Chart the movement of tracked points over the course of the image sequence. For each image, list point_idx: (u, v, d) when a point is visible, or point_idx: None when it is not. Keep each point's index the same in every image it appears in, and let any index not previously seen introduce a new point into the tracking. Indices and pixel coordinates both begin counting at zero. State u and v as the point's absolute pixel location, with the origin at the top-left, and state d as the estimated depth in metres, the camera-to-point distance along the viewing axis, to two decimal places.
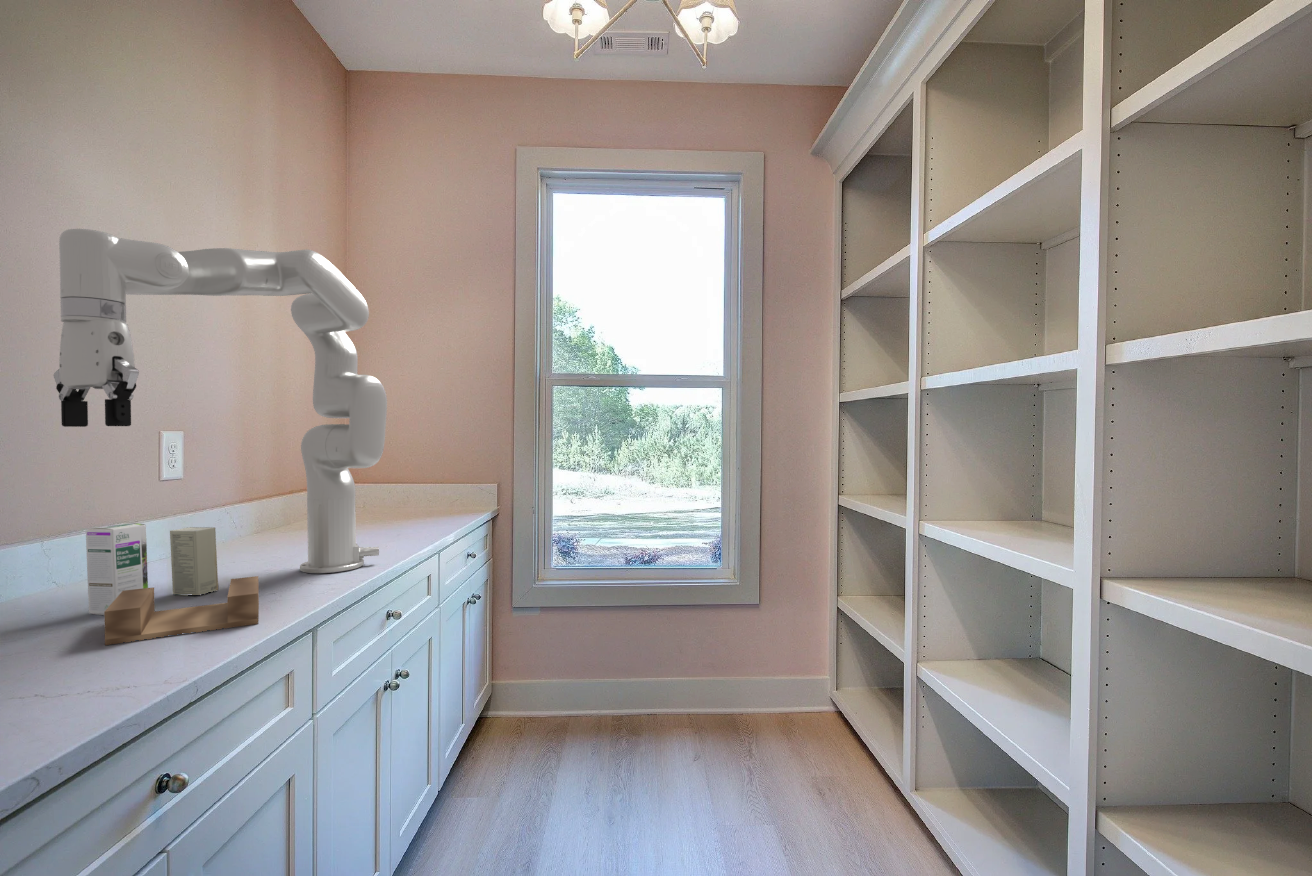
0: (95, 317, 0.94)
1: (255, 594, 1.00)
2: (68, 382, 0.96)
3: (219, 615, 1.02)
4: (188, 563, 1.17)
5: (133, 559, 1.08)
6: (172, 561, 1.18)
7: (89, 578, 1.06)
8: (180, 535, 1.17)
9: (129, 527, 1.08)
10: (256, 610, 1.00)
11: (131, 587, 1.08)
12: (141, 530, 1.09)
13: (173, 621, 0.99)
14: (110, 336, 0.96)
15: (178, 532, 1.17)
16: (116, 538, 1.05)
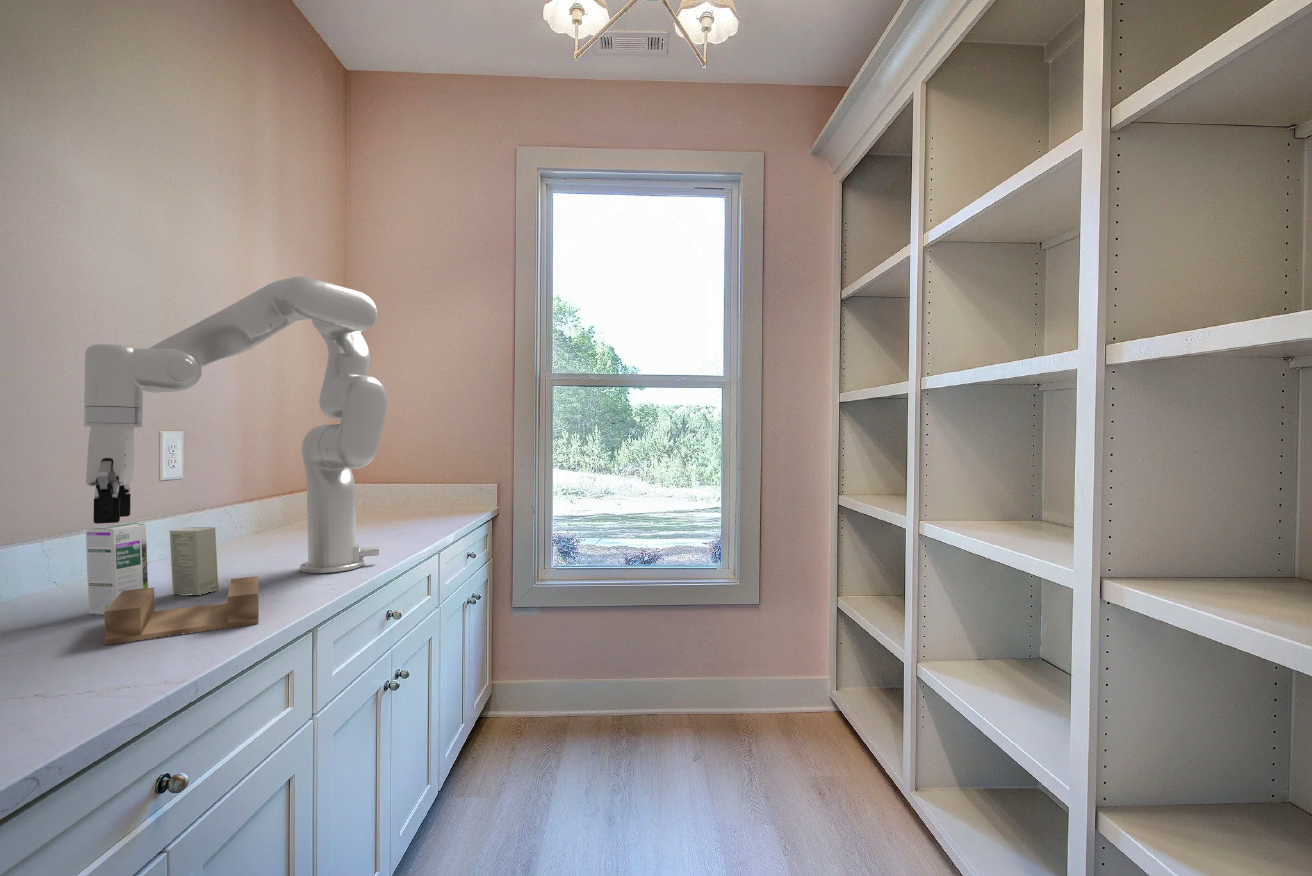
0: None
1: (255, 594, 1.00)
2: (126, 480, 1.06)
3: (219, 615, 1.02)
4: (188, 563, 1.17)
5: (133, 559, 1.08)
6: (172, 561, 1.18)
7: (89, 578, 1.06)
8: (180, 535, 1.17)
9: (129, 527, 1.08)
10: (256, 610, 1.00)
11: (131, 587, 1.08)
12: (141, 530, 1.09)
13: (173, 621, 0.99)
14: None
15: (178, 532, 1.17)
16: (116, 538, 1.05)
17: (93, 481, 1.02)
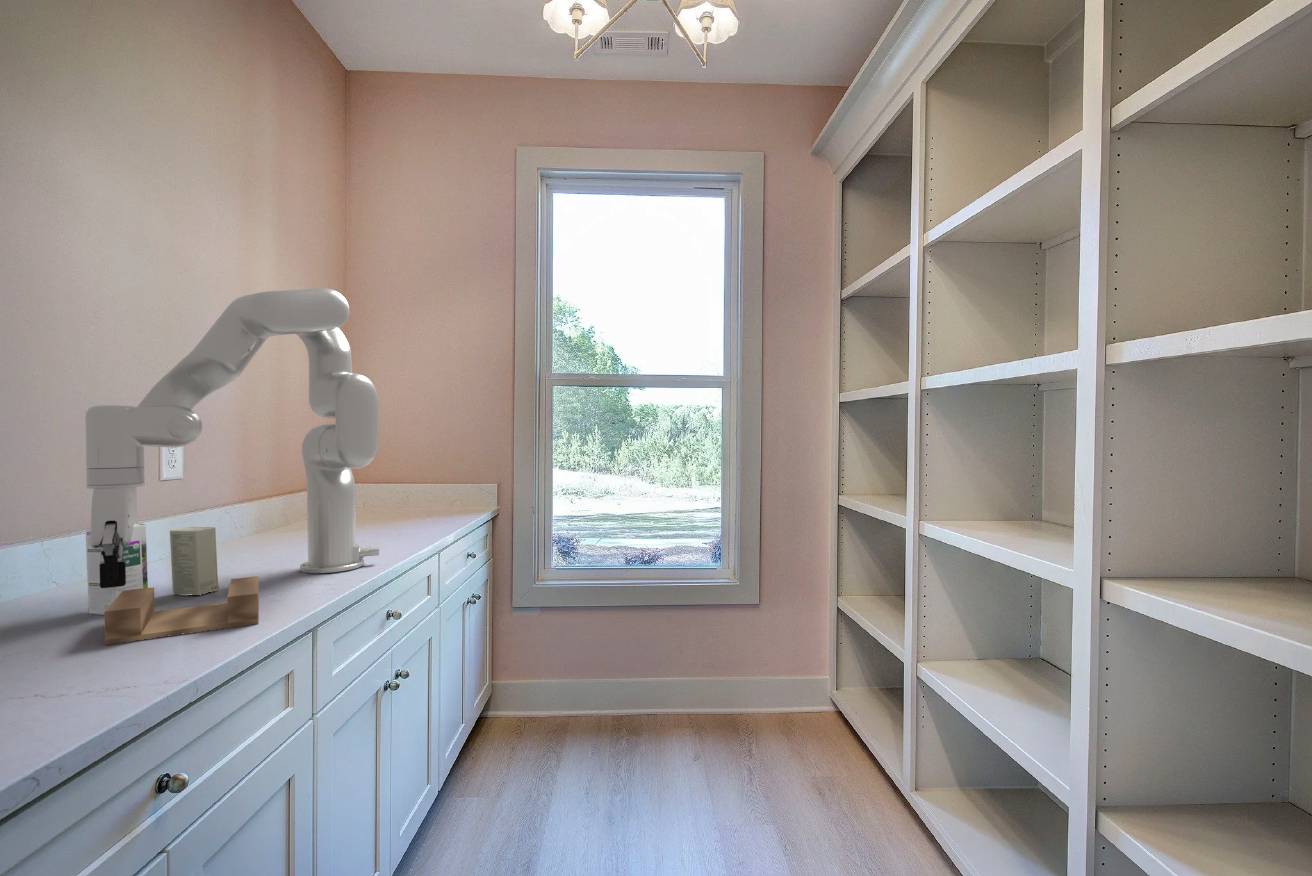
0: None
1: (255, 594, 1.00)
2: (130, 540, 1.07)
3: (219, 615, 1.02)
4: (188, 563, 1.17)
5: (133, 559, 1.08)
6: (172, 561, 1.18)
7: (89, 578, 1.06)
8: (180, 535, 1.17)
9: None
10: (256, 610, 1.00)
11: (131, 587, 1.08)
12: (141, 530, 1.09)
13: (173, 621, 0.99)
14: None
15: (178, 532, 1.17)
16: (116, 538, 1.05)
17: (97, 544, 1.03)
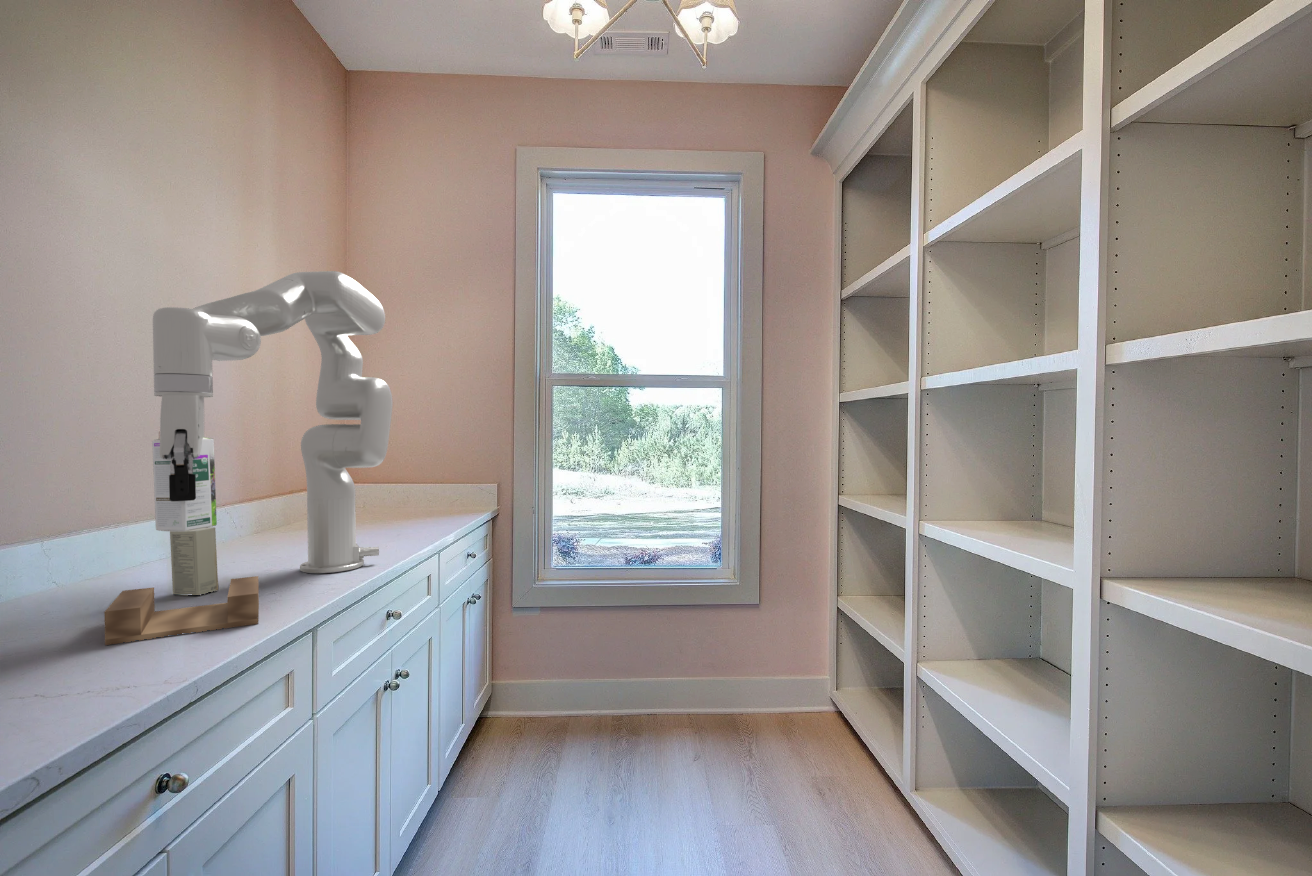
0: None
1: (255, 594, 1.00)
2: (199, 453, 1.00)
3: (219, 615, 1.02)
4: (188, 563, 1.17)
5: (201, 473, 1.01)
6: (172, 561, 1.18)
7: (156, 492, 0.99)
8: (180, 535, 1.17)
9: None
10: (256, 610, 1.00)
11: (200, 503, 1.01)
12: (209, 444, 1.02)
13: (173, 621, 0.99)
14: None
15: (178, 532, 1.17)
16: (185, 449, 0.98)
17: (167, 453, 0.96)
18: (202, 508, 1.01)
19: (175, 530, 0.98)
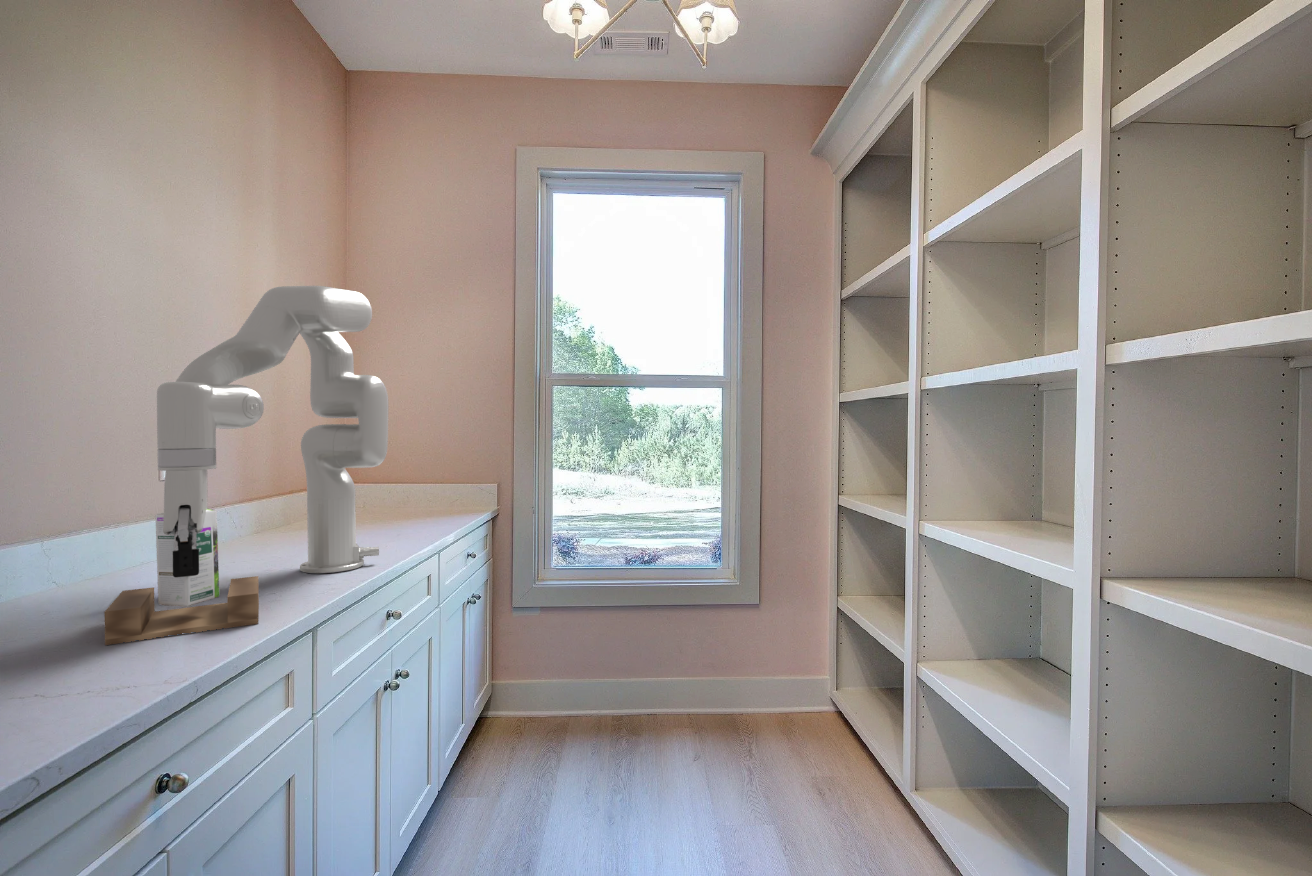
0: None
1: (255, 594, 1.00)
2: (202, 527, 1.00)
3: (219, 615, 1.02)
4: None
5: (204, 546, 1.01)
6: None
7: (159, 567, 0.99)
8: None
9: None
10: (256, 610, 1.00)
11: (203, 577, 1.00)
12: (212, 516, 1.02)
13: (173, 621, 0.99)
14: None
15: None
16: (189, 523, 0.98)
17: (171, 530, 0.96)
18: (205, 581, 1.01)
19: (178, 605, 0.98)
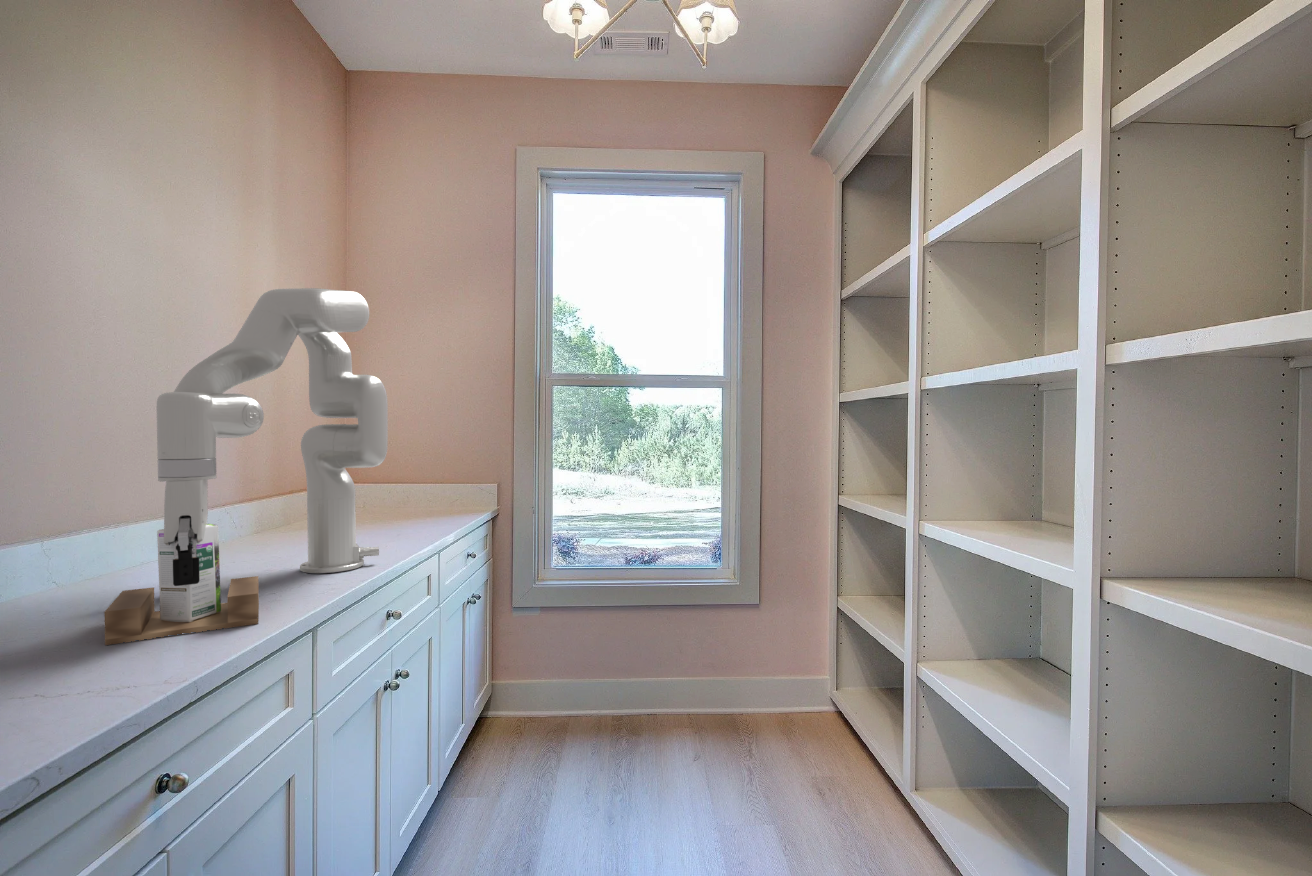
0: None
1: (255, 594, 1.00)
2: (203, 537, 1.00)
3: (219, 615, 1.02)
4: None
5: (206, 562, 1.01)
6: None
7: (161, 582, 0.99)
8: None
9: None
10: (256, 610, 1.00)
11: (205, 592, 1.01)
12: (214, 531, 1.03)
13: None
14: None
15: None
16: None
17: (171, 540, 0.96)
18: (207, 596, 1.01)
19: (180, 620, 0.99)
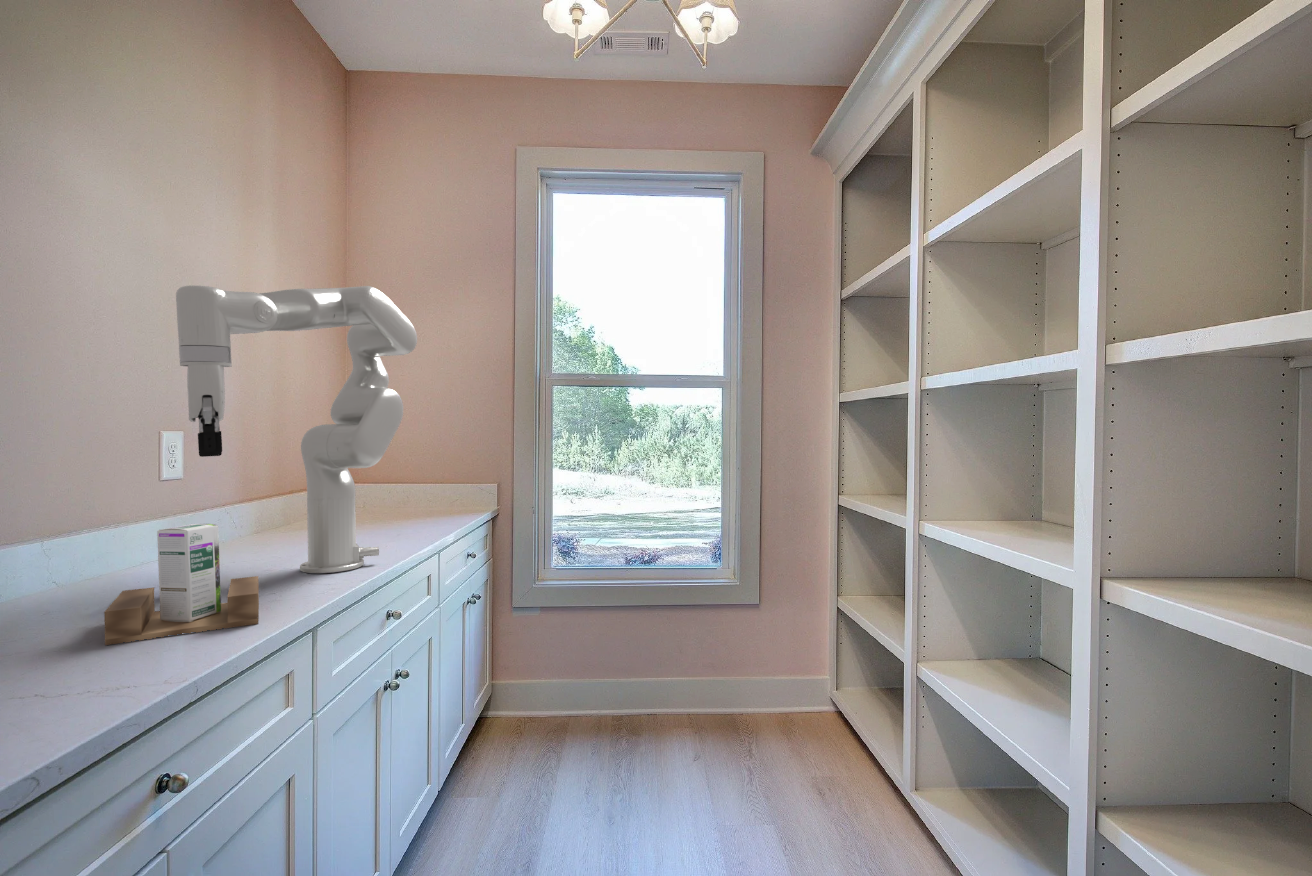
0: None
1: (255, 594, 1.00)
2: None
3: (219, 615, 1.02)
4: None
5: (206, 562, 1.01)
6: None
7: (161, 582, 0.99)
8: None
9: (202, 528, 1.01)
10: (256, 610, 1.00)
11: (205, 592, 1.01)
12: (214, 531, 1.03)
13: None
14: None
15: None
16: (190, 539, 0.99)
17: (196, 416, 1.08)
18: (207, 596, 1.01)
19: (180, 620, 0.99)
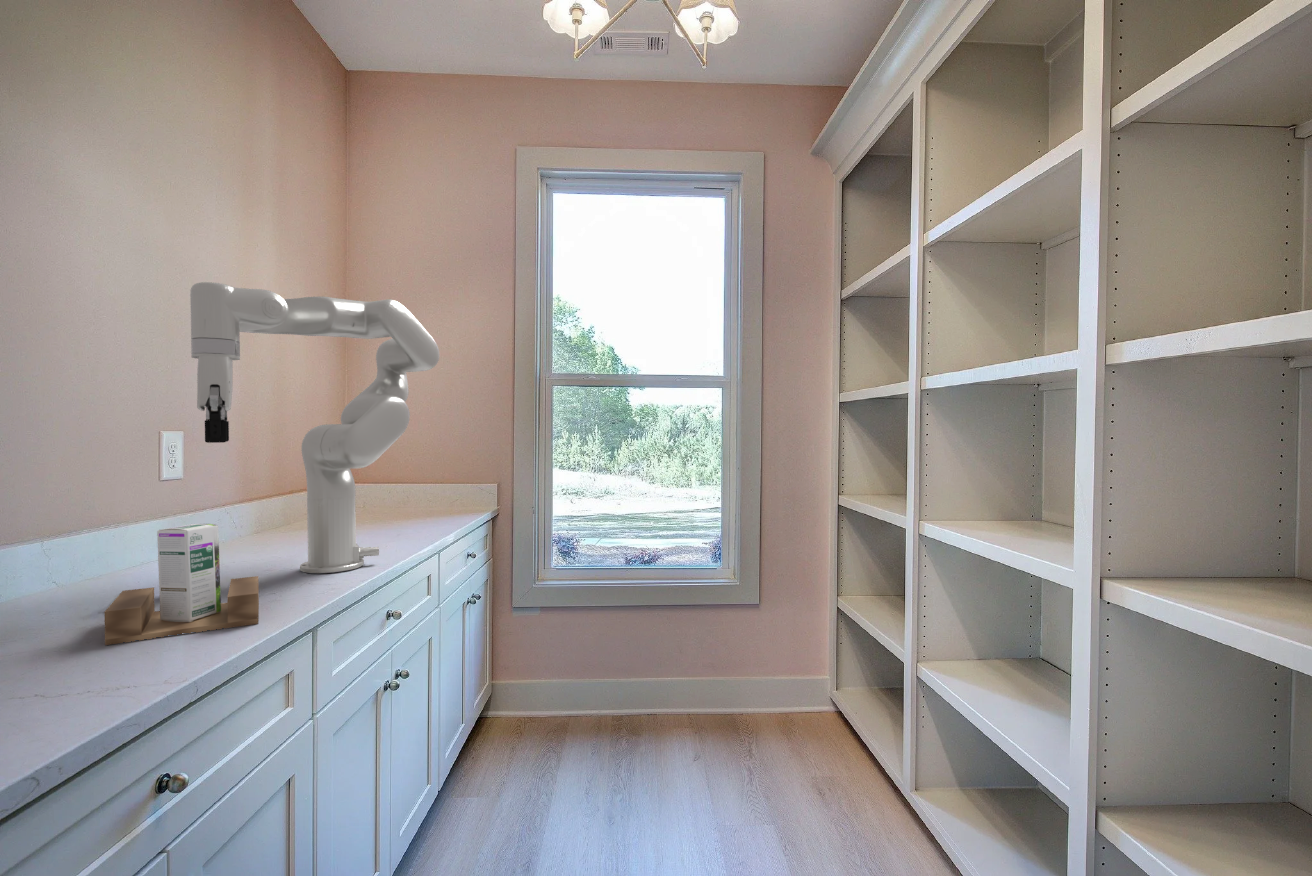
0: None
1: (255, 594, 1.00)
2: (229, 406, 1.18)
3: (219, 615, 1.02)
4: None
5: (206, 562, 1.01)
6: None
7: (161, 582, 0.99)
8: None
9: (202, 528, 1.01)
10: (256, 610, 1.00)
11: (205, 592, 1.01)
12: (214, 531, 1.03)
13: None
14: None
15: None
16: (190, 539, 0.99)
17: (203, 404, 1.14)
18: (207, 596, 1.01)
19: (180, 620, 0.99)
